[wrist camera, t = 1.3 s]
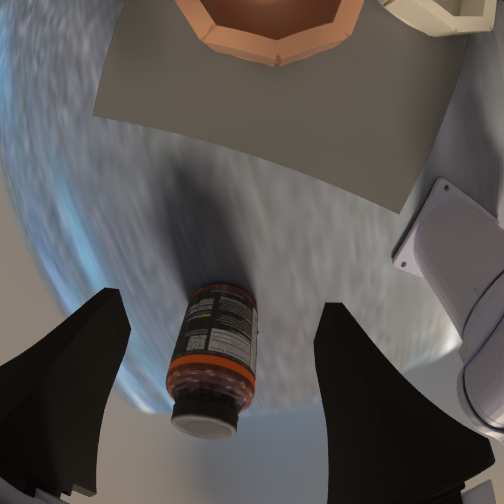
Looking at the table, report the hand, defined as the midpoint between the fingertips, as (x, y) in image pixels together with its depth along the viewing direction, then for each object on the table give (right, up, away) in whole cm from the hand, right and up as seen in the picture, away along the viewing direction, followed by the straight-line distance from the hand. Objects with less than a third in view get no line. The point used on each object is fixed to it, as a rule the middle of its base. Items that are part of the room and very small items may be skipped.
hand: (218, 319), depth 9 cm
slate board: (+4, +17, +2) cm, 18 cm away
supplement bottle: (-1, -2, +14) cm, 15 cm away
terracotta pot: (+1, +17, +1) cm, 17 cm away
